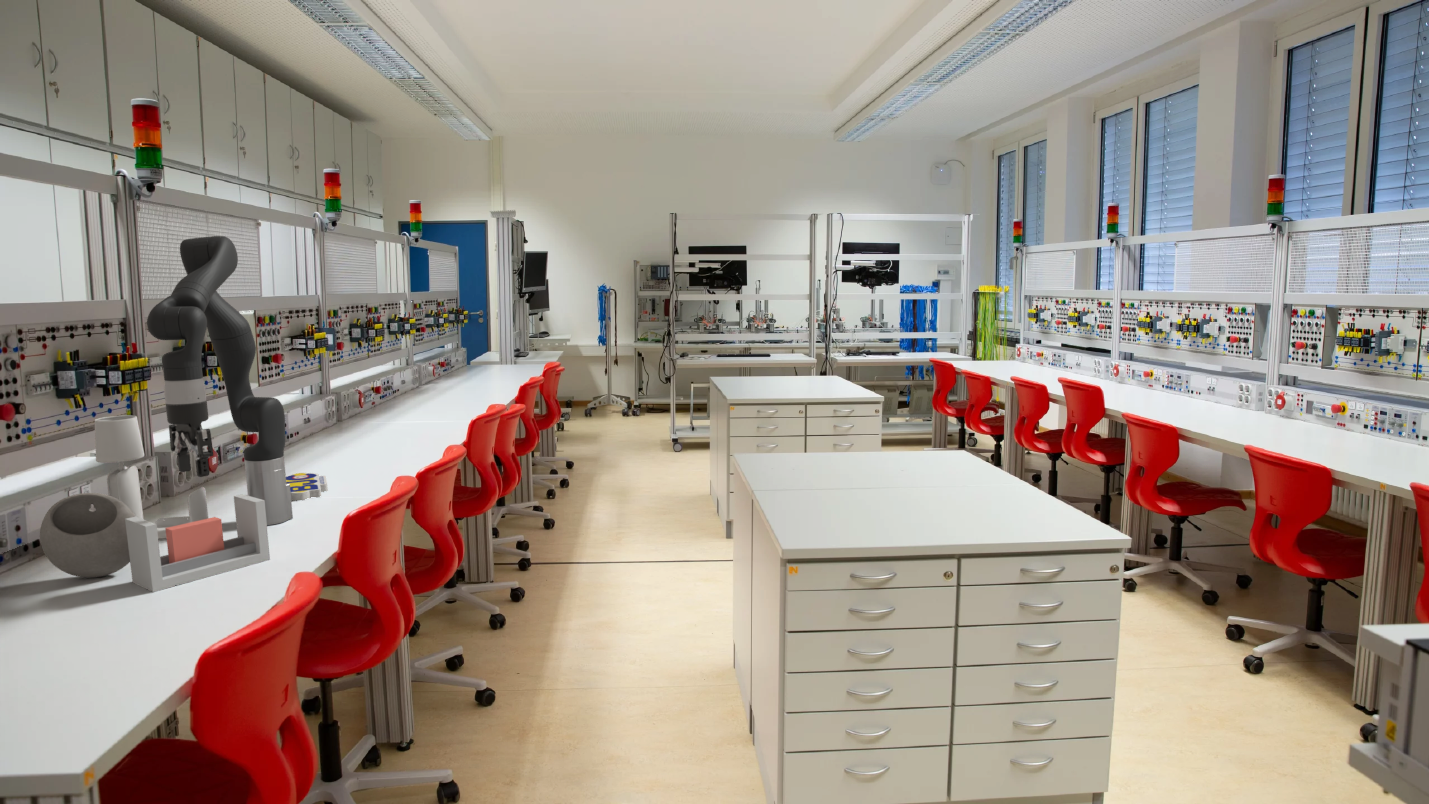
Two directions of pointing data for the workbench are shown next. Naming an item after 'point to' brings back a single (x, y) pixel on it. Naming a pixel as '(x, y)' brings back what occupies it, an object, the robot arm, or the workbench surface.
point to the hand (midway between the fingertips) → (194, 473)
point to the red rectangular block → (194, 539)
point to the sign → (306, 485)
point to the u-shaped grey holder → (236, 554)
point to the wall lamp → (135, 470)
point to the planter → (86, 535)
